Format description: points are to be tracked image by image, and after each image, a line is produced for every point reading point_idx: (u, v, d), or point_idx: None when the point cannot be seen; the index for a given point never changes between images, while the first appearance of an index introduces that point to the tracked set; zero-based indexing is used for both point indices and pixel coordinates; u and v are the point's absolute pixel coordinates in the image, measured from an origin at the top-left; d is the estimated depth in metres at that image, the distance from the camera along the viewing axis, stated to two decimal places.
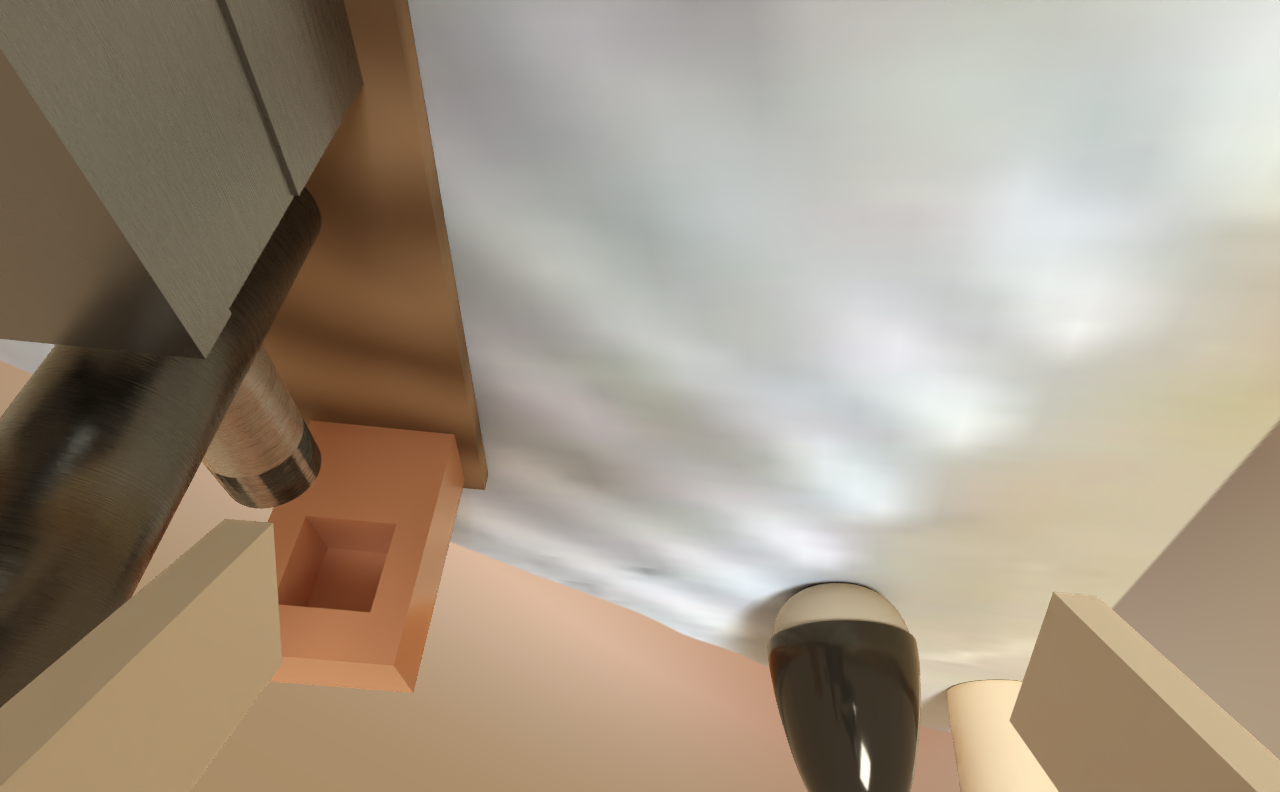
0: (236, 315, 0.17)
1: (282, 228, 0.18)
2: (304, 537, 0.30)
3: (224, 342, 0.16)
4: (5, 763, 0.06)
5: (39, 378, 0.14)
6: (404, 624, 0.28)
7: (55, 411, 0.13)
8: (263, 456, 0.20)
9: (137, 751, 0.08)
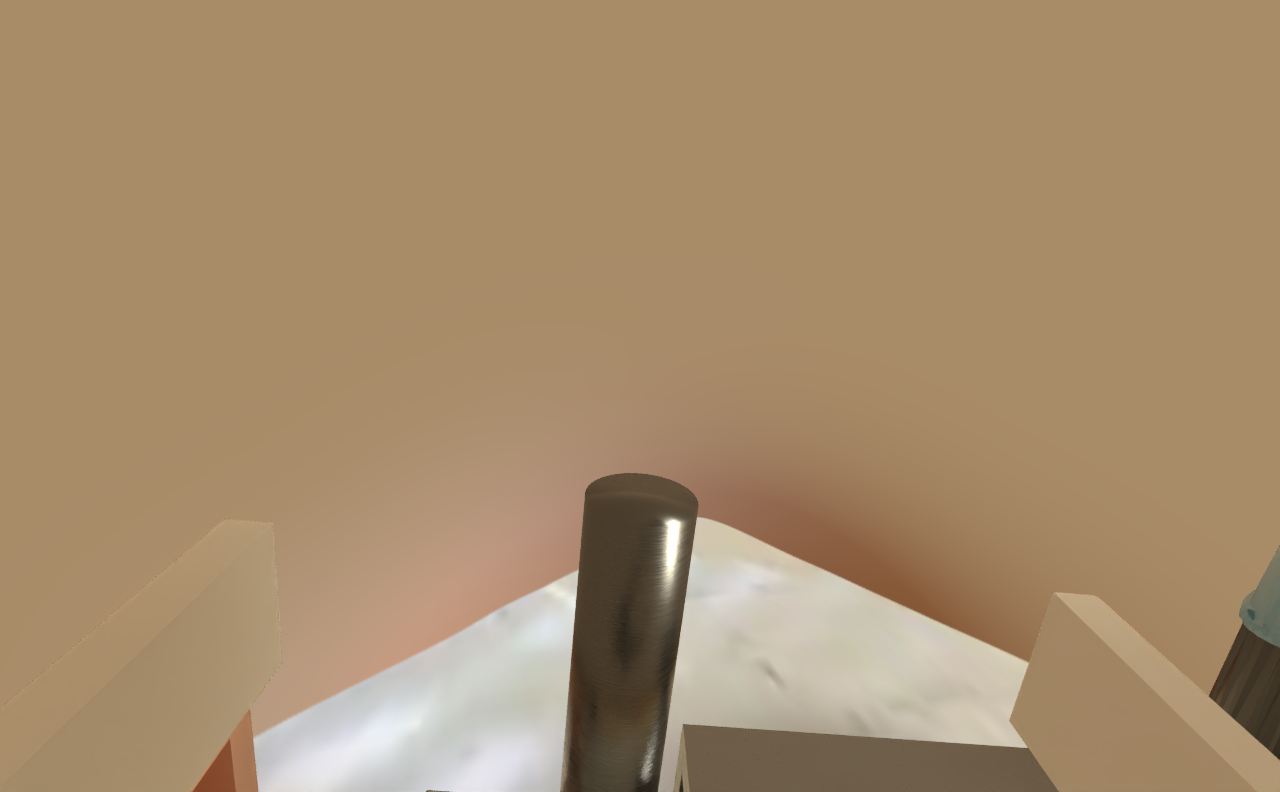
0: None
1: None
2: None
3: None
4: (5, 762, 0.06)
5: None
6: None
7: None
8: None
9: (137, 751, 0.08)
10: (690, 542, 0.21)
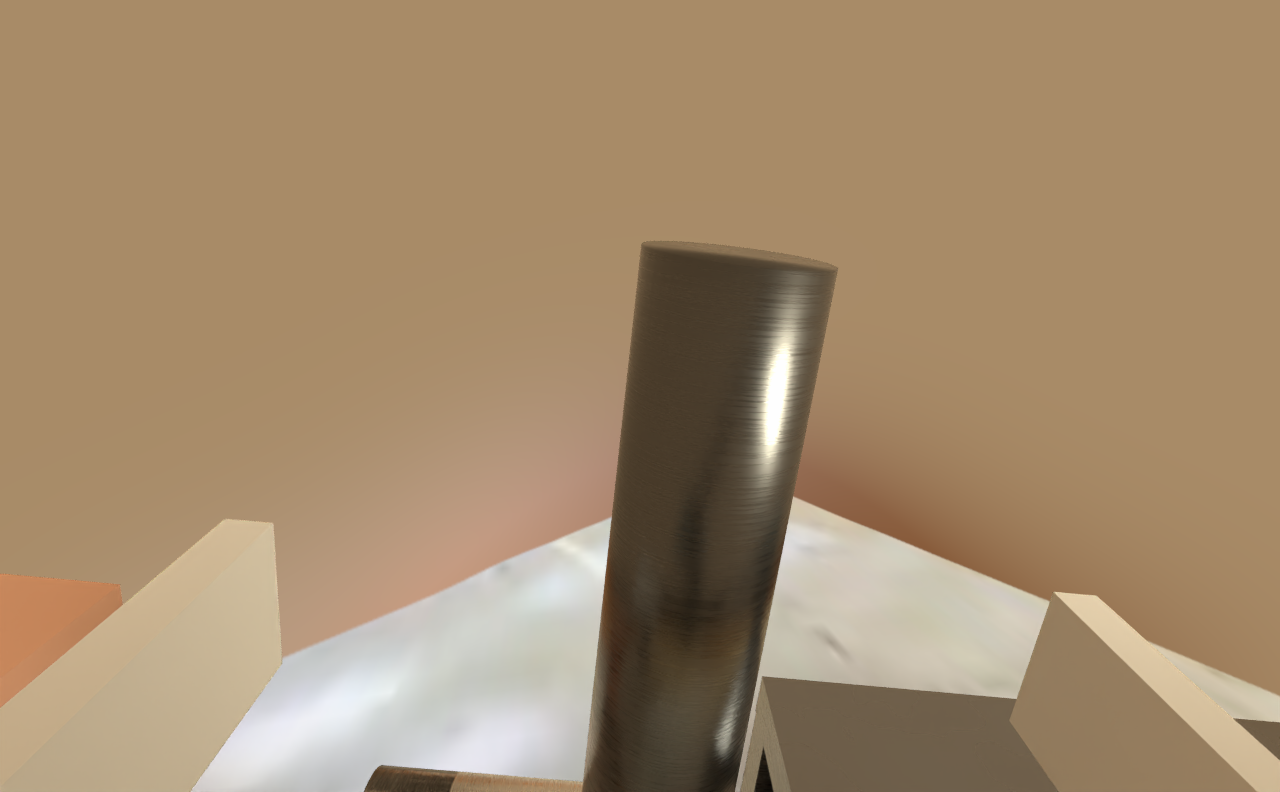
0: None
1: None
2: None
3: None
4: (5, 763, 0.06)
5: None
6: None
7: None
8: None
9: (137, 751, 0.08)
10: (824, 326, 0.12)
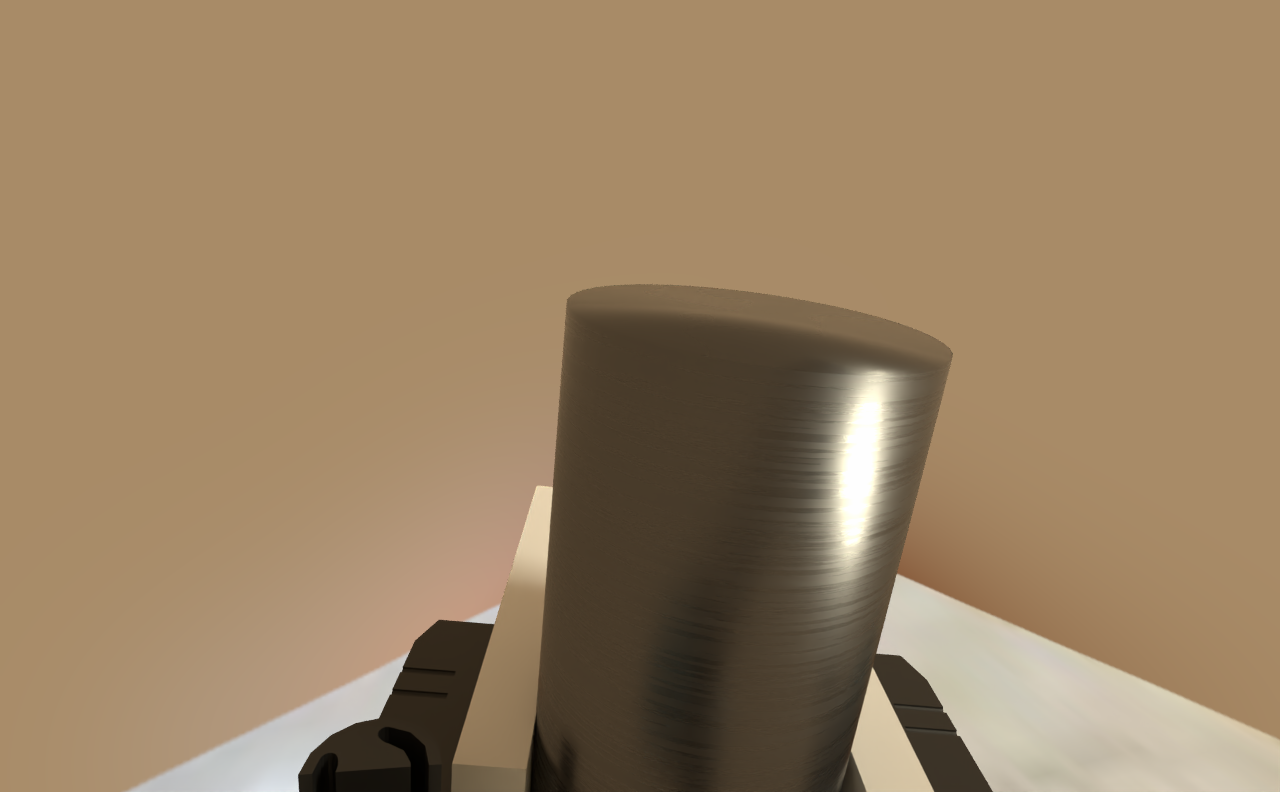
0: None
1: None
2: None
3: None
4: (536, 647, 0.09)
5: None
6: None
7: None
8: None
9: None
10: None
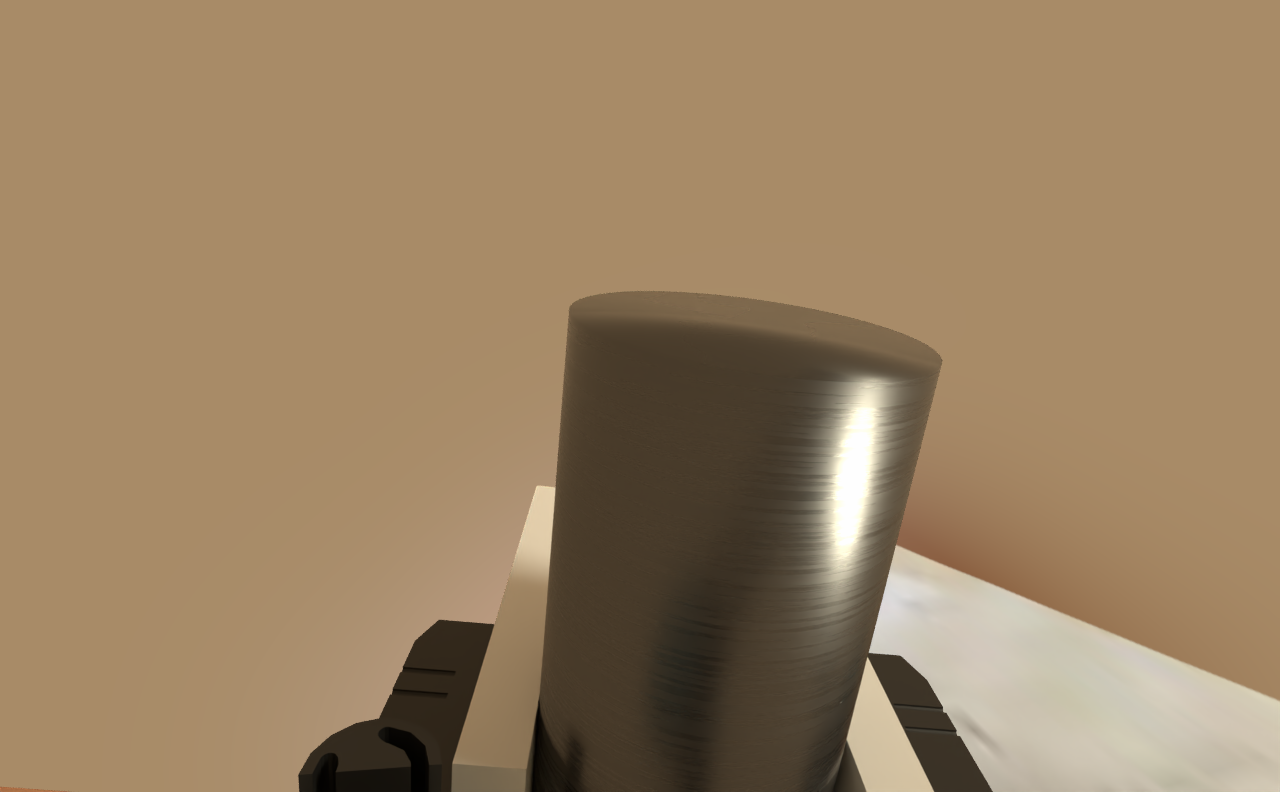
0: None
1: None
2: None
3: None
4: (536, 647, 0.09)
5: None
6: None
7: None
8: None
9: None
10: None
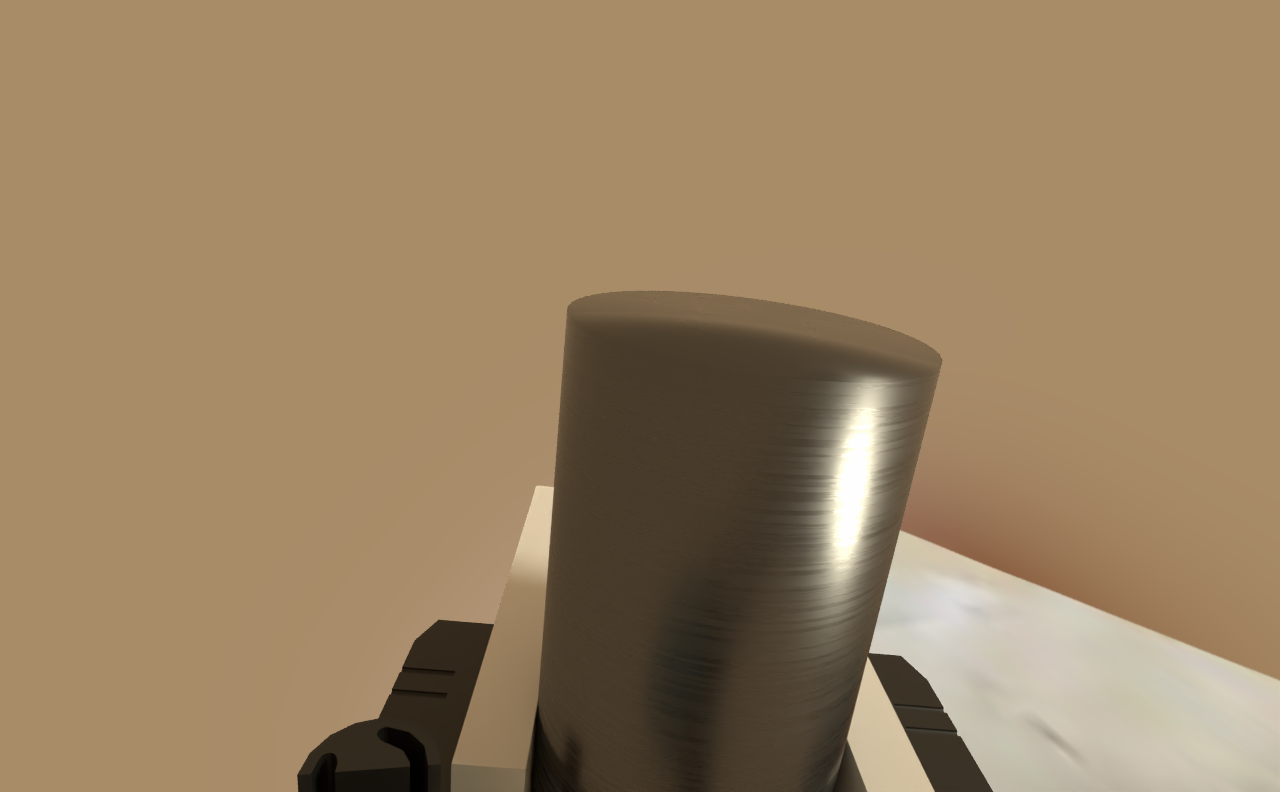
0: None
1: None
2: None
3: None
4: (536, 647, 0.09)
5: None
6: None
7: None
8: None
9: None
10: None
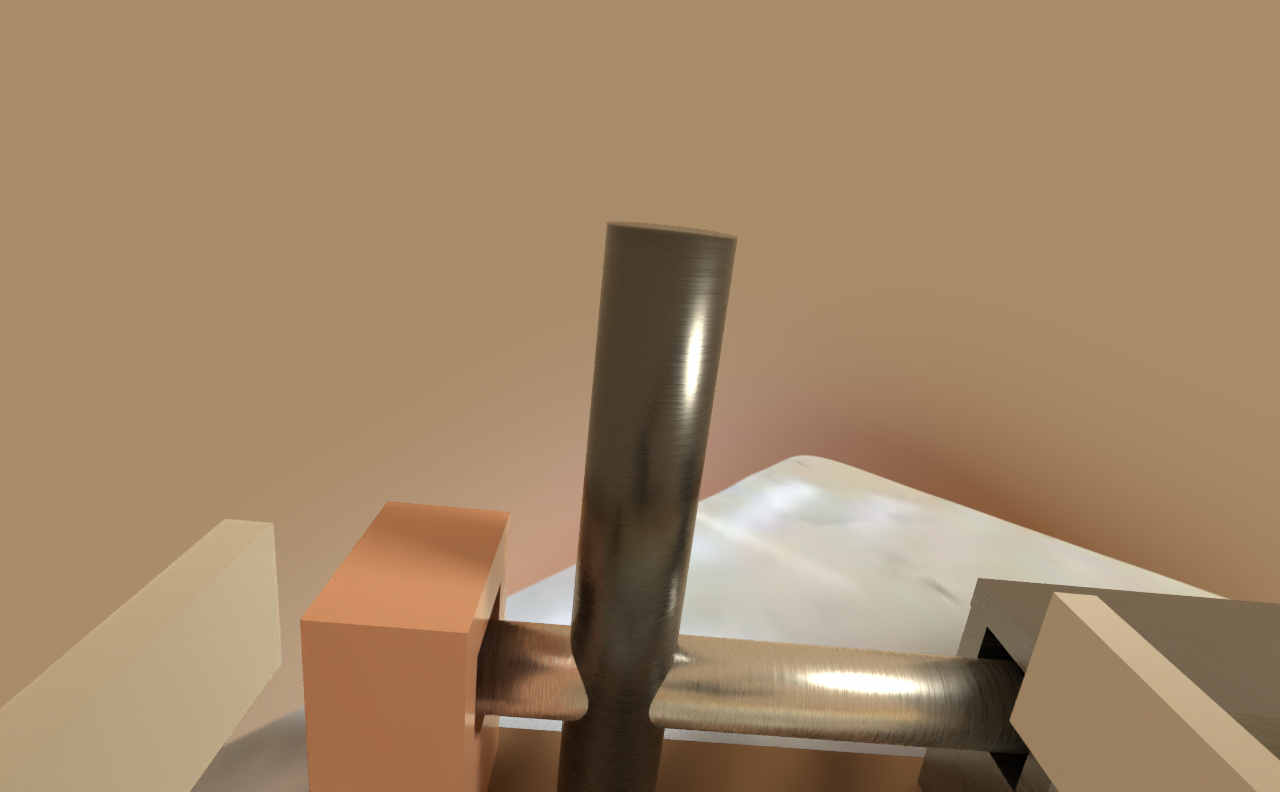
0: (640, 714, 0.22)
1: (631, 789, 0.23)
2: None
3: (640, 693, 0.21)
4: (5, 763, 0.06)
5: None
6: (464, 682, 0.19)
7: None
8: (489, 660, 0.22)
9: (137, 751, 0.08)
10: (728, 276, 0.18)
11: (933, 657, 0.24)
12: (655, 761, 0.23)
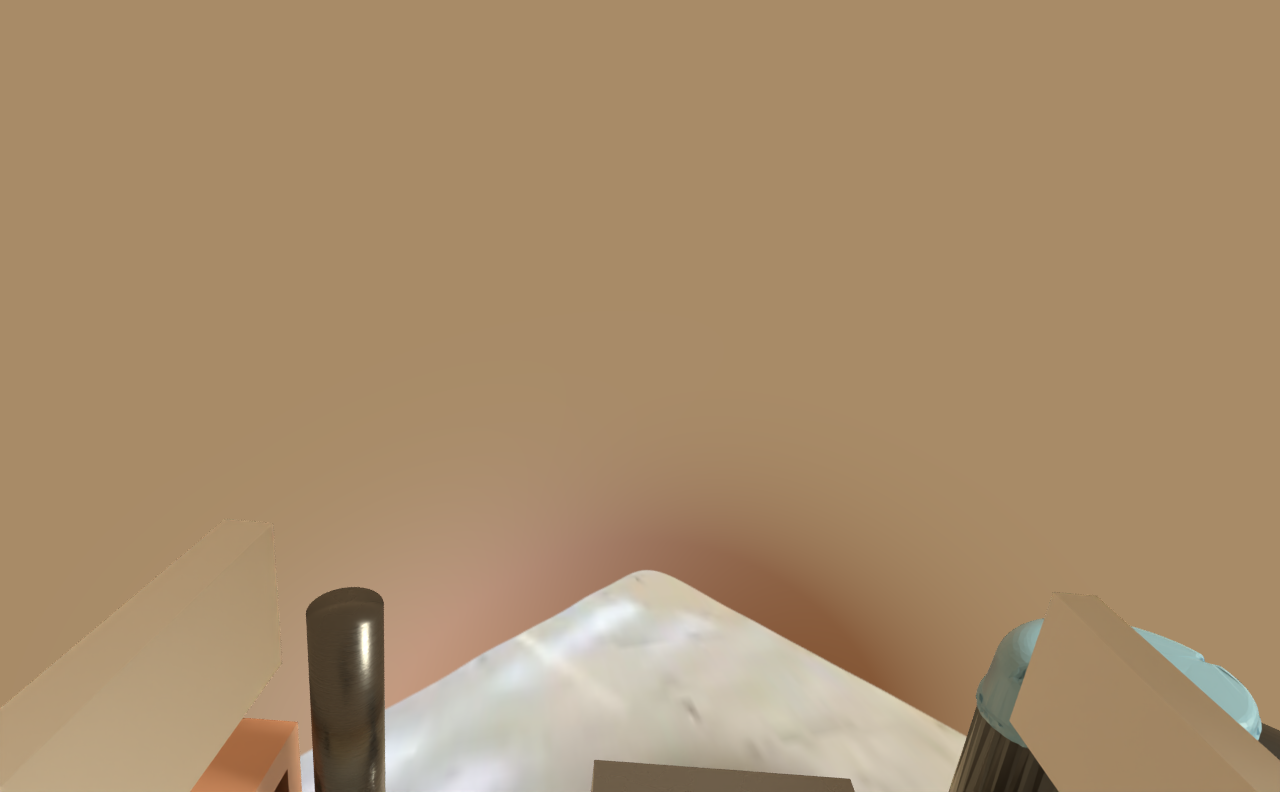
0: None
1: None
2: None
3: None
4: (5, 763, 0.06)
5: None
6: None
7: (382, 782, 0.38)
8: None
9: (137, 751, 0.08)
10: (372, 637, 0.34)
11: None
12: None
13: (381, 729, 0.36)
